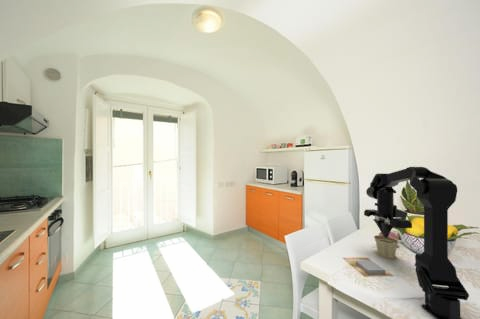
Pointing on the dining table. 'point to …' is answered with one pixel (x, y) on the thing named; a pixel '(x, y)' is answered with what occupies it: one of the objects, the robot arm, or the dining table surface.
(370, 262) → the tile
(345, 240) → the dining table surface
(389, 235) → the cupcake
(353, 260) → the board
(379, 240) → the flower pot
